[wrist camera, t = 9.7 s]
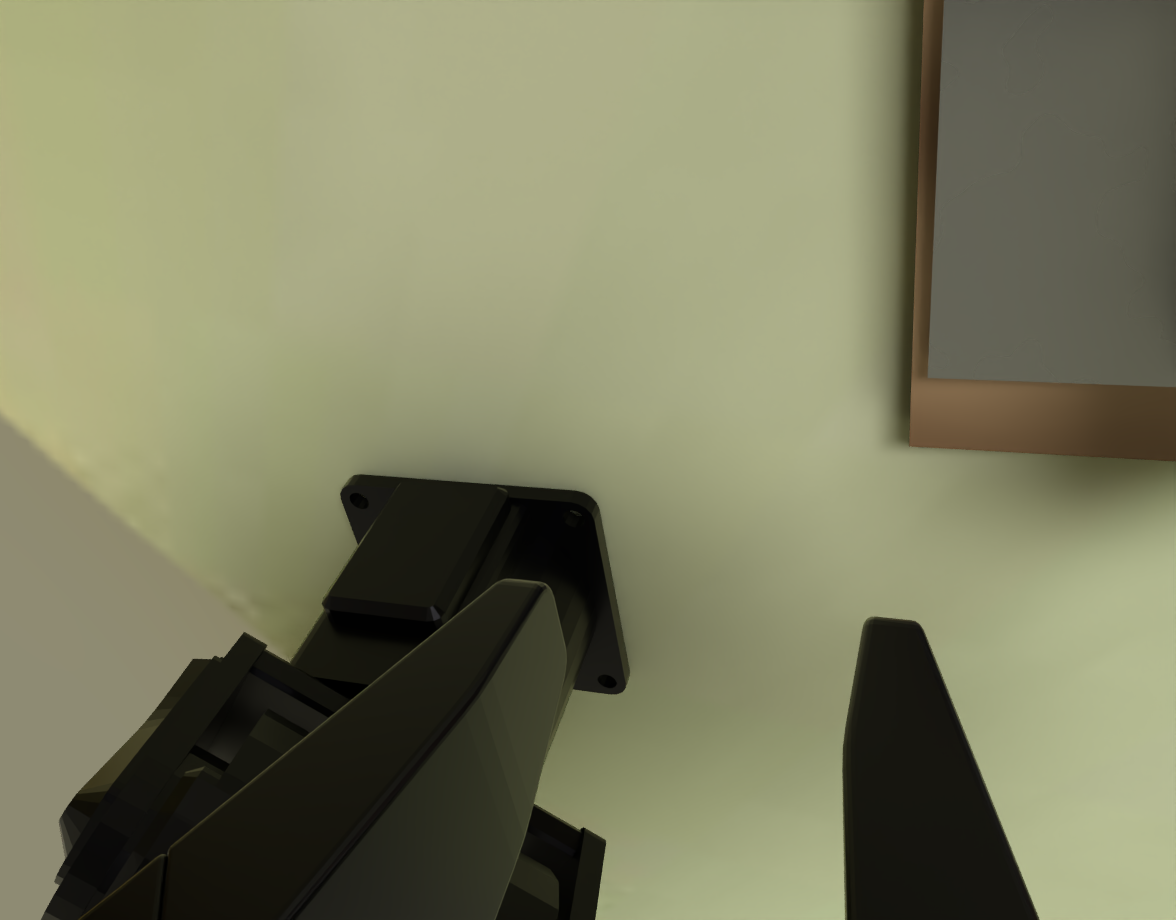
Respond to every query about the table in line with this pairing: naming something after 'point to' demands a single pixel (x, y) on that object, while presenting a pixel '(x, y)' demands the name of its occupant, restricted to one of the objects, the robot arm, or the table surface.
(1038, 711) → the table surface
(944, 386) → the shelf
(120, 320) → the table surface
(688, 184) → the table surface
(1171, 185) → the bookend
